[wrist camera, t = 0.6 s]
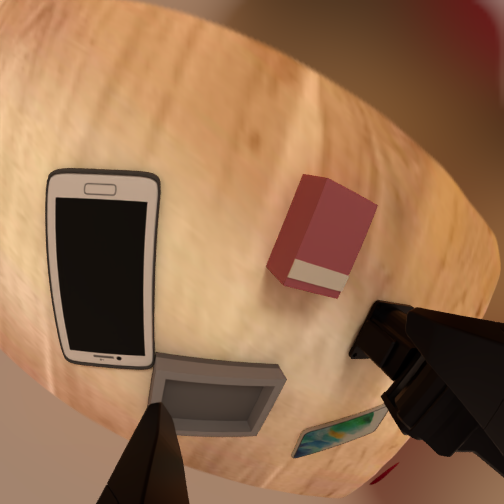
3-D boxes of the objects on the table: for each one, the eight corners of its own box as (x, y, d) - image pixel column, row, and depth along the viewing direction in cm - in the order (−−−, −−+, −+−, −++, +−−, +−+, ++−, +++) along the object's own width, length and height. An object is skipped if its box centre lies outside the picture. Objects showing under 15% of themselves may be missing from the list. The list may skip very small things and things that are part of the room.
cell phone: (163, 172, 17) (163, 173, 16) (155, 363, 21) (155, 371, 20) (51, 167, 14) (46, 168, 13) (66, 356, 18) (64, 363, 18)
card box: (301, 173, 19) (328, 178, 16) (349, 197, 21) (378, 205, 18) (264, 265, 21) (284, 286, 17) (314, 279, 22) (338, 299, 19)
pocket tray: (277, 364, 24) (286, 379, 22) (250, 421, 26) (256, 435, 24) (155, 352, 20) (156, 369, 18) (146, 415, 22) (146, 432, 20)
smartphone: (375, 431, 35) (291, 459, 31) (372, 428, 36) (288, 455, 31) (393, 402, 33) (304, 432, 28) (390, 399, 34) (301, 427, 29)
